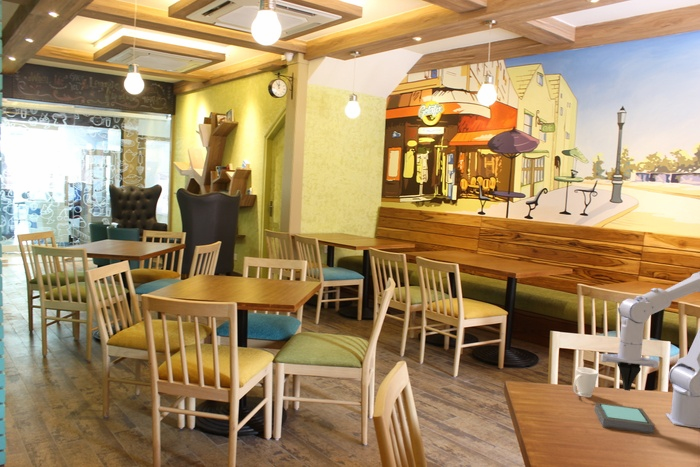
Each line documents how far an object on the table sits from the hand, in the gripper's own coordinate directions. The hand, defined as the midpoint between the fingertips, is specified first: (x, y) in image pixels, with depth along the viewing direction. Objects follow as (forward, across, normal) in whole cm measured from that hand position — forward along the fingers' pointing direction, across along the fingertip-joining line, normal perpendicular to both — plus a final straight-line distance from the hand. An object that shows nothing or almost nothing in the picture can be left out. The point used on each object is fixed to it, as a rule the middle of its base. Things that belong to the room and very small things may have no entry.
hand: (626, 389), depth 163 cm
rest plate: (+8, 0, +1) cm, 8 cm away
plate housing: (+9, 0, +1) cm, 9 cm away
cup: (+10, +8, -18) cm, 22 cm away
